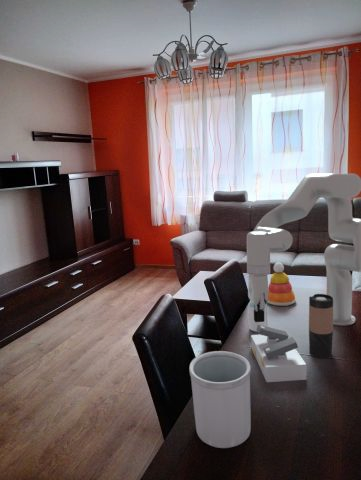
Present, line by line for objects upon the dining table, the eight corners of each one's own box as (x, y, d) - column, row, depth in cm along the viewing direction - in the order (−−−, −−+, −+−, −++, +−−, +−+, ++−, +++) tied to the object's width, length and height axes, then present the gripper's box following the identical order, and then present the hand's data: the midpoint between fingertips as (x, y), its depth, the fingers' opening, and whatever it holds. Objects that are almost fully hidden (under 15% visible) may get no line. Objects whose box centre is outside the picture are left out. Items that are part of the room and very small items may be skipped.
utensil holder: (213, 460, 85) (210, 390, 81) (182, 422, 98) (178, 361, 94) (264, 435, 91) (263, 370, 88) (229, 403, 104) (227, 345, 101)
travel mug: (334, 359, 124) (335, 301, 120) (310, 358, 126) (310, 301, 122) (330, 348, 131) (331, 293, 128) (307, 347, 133) (307, 293, 129)
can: (247, 332, 148) (247, 303, 145) (251, 324, 154) (250, 297, 152) (265, 334, 145) (265, 304, 143) (268, 326, 151) (268, 298, 149)
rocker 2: (264, 353, 119) (262, 348, 119) (294, 342, 119) (292, 336, 118) (267, 359, 116) (265, 353, 115) (298, 347, 115) (295, 341, 115)
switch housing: (250, 348, 135) (250, 331, 134) (284, 345, 135) (284, 329, 134) (265, 382, 113) (265, 363, 112) (306, 379, 113) (306, 360, 112)
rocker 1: (256, 329, 130) (258, 324, 129) (283, 336, 130) (285, 331, 130) (258, 334, 126) (260, 328, 126) (286, 341, 127) (288, 335, 126)
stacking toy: (299, 299, 179) (299, 259, 176) (291, 309, 168) (291, 267, 164) (270, 295, 187) (270, 257, 183) (260, 305, 175) (260, 264, 172)
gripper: (242, 263, 131) (243, 313, 134) (252, 275, 116) (252, 331, 119) (264, 262, 131) (264, 312, 134) (276, 274, 116) (276, 329, 120)
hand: (259, 321), depth 127 cm, fingers closed
